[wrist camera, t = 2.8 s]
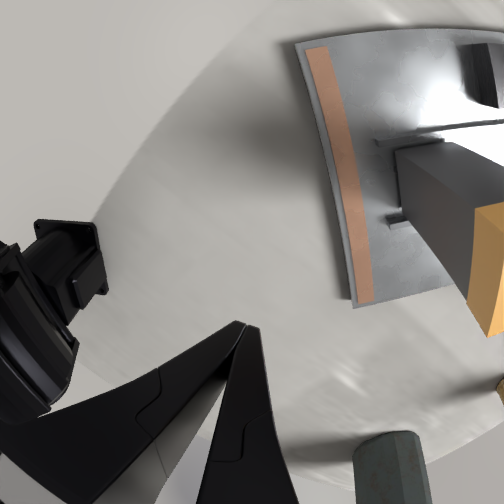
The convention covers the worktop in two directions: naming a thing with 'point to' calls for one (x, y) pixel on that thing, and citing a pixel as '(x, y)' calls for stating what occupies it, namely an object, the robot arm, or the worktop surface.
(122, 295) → the worktop surface
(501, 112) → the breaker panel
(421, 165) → the handle
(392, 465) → the bottle
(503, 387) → the sprinkles bottle
